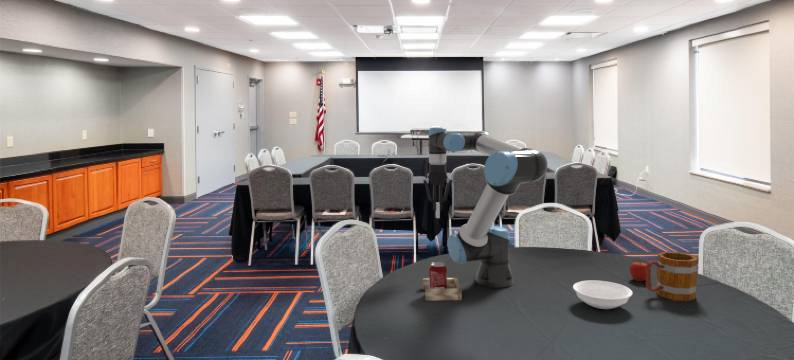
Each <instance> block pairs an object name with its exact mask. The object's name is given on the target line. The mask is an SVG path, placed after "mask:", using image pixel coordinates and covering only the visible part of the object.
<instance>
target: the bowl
mask: <svg viewBox="0 0 794 360" xmlns="http://www.w3.org/2000/svg"><path fill="white" fill-rule="evenodd" d="M572 289H573V291H575V293H576V296H577V298H578V299H580V300H581V301H582V302H584V303H586V304H587V305H589V306H591V307H593V308H595V309H603V310H610V309H615V308H618V307H620V306H622V305H625V304H627V303H628V302H629V298H630V297H632V296H633V290H631V289H630V288H629V287H628V286H626V285H623V284H621V283H620V284H619V283H617V282H612V281H607V280H597V279H596V280H594V279H593V280H589V279H588V280H581V281H578V282H575V283H574V284H573V286H572Z"/></svg>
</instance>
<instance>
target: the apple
mask: <svg viewBox="0 0 794 360" xmlns="http://www.w3.org/2000/svg"><path fill="white" fill-rule="evenodd" d="M646 266H647V263H646V262H641V261H635V262H632V263H631V264H630V266H629V274H630V276H631V278H632V279H633V280H634V281H637V282H646ZM651 272H652V269H651V268H650V274H651Z"/></svg>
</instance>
